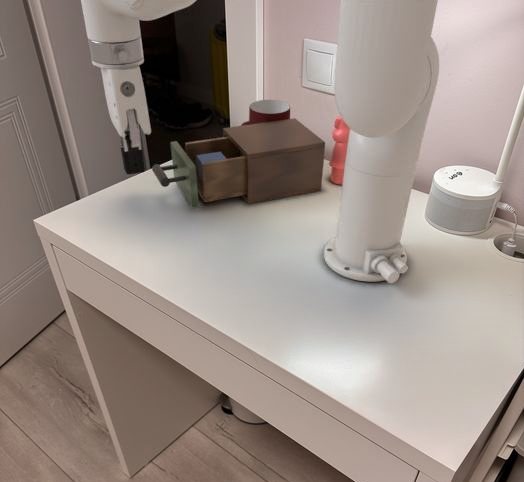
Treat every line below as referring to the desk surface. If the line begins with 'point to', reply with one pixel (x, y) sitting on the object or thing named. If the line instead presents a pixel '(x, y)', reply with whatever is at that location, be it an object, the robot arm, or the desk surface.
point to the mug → (267, 111)
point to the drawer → (206, 171)
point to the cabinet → (279, 159)
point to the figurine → (339, 150)
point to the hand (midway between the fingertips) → (134, 171)
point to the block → (207, 158)
